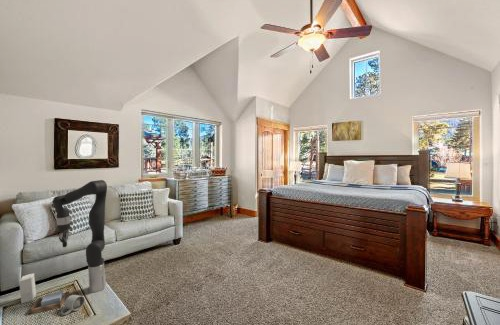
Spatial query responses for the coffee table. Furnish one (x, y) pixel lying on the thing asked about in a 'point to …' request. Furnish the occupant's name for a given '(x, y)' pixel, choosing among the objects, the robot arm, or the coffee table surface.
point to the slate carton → (52, 298)
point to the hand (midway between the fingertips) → (64, 246)
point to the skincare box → (27, 288)
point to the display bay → (48, 307)
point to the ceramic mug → (73, 303)
